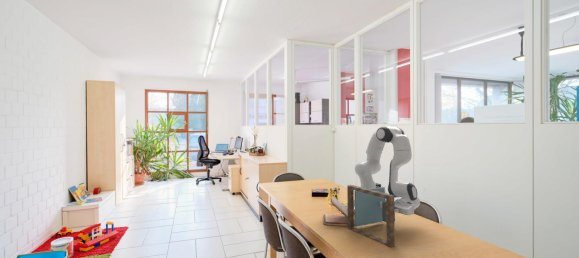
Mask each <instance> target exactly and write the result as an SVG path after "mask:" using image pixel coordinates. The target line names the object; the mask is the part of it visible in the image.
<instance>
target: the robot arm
mask: <svg viewBox="0 0 579 258" xmlns="http://www.w3.org/2000/svg"><path fill="white" fill-rule="evenodd" d="M386 143H391V144H392V147H393V156H392V159H391V160H390V163H389V174H388V175H389V177H388V178H389V179H388V185H387V192H388V194H390V195H394V202H395V209H394V212H395V213H397V214H401V215H404V216H411V215H414V214H415V210H416V209H417V208H419V206H420V205H421V199H420V197H418V190H417V187H416V185H414V183H412V182H399V181H398V177H399V170H400V168H401V167H403V166H404V165H407V164H408V163H409V162H411V160H412V147H411V142H410V139H409V137H408V136H407V135H405V131H404V130H403V129H402V128H401V127H398V126H397V127H395V126H380V127H378V128H377V130H376V131H374V132H373V134H372V135H371V137H370V140H369V141H368V145H367V148H366V151H365V153H366V160H365V161H361V162H358V163H356V165H355V167H354V171H355V173H356V175H357V176H358V178H359V183H360V187H362V188H366V189H371V188H376V183H377V182H375V180H374V178H373V175H375V174H377V173H378V172H380V171H381V168H382V165H381V162H380V161H381V157H382V153H383V151H384V148H385V145H386ZM395 198H397V199H395ZM382 202H383V201H382ZM382 202H380V208H382ZM354 206H355V199H354Z"/></svg>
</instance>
